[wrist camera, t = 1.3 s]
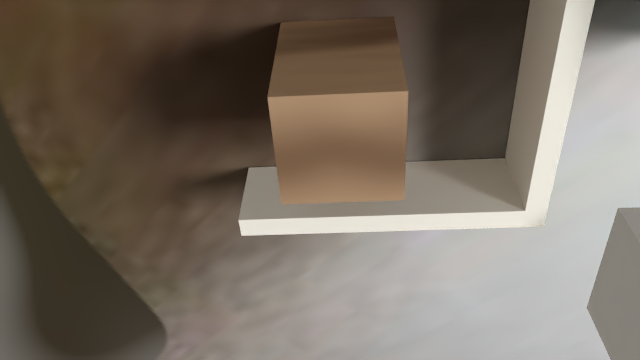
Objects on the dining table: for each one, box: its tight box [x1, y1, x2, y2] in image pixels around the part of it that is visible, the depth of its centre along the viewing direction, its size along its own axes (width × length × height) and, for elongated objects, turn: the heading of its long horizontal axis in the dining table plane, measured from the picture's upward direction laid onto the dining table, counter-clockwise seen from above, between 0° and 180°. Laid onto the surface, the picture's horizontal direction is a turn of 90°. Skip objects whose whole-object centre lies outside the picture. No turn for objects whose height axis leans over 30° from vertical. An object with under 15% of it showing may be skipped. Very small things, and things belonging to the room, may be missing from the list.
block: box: [267, 17, 408, 204], centre depth 30 cm, size 6×6×8 cm
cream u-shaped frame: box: [239, 0, 595, 236], centre depth 31 cm, size 17×15×5 cm
